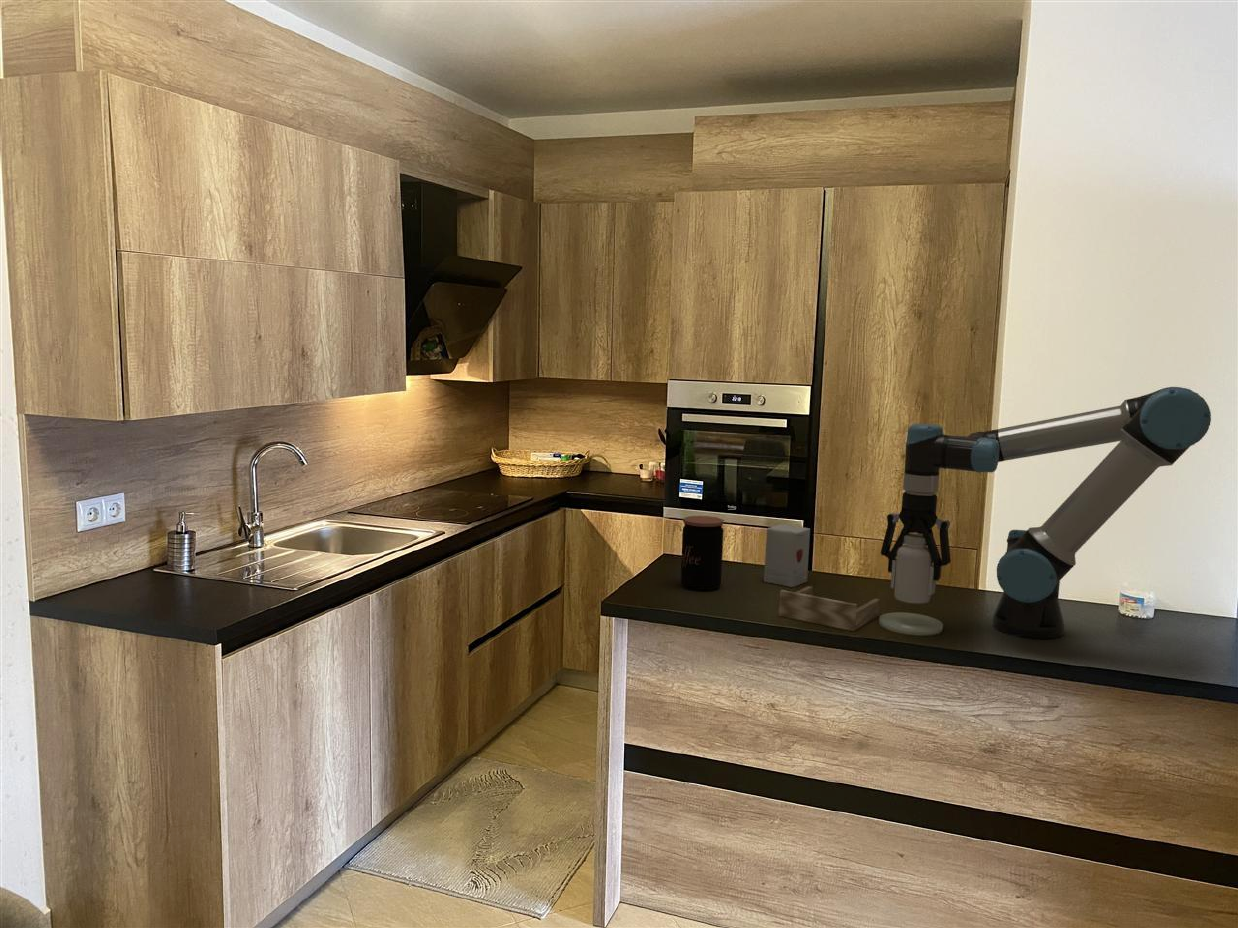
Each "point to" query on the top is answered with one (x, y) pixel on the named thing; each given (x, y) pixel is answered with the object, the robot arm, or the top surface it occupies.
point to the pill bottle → (913, 570)
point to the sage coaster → (911, 623)
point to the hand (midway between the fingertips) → (912, 590)
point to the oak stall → (826, 610)
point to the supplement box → (787, 555)
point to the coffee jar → (702, 553)
